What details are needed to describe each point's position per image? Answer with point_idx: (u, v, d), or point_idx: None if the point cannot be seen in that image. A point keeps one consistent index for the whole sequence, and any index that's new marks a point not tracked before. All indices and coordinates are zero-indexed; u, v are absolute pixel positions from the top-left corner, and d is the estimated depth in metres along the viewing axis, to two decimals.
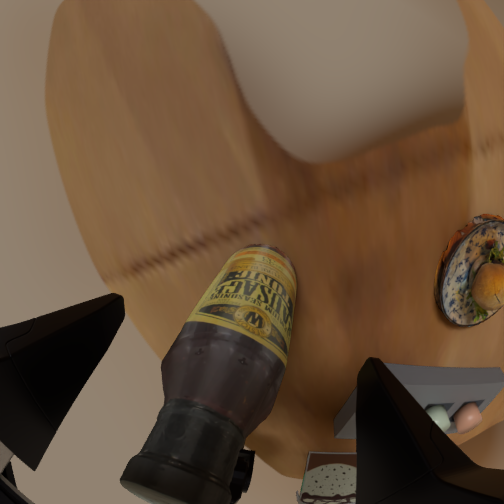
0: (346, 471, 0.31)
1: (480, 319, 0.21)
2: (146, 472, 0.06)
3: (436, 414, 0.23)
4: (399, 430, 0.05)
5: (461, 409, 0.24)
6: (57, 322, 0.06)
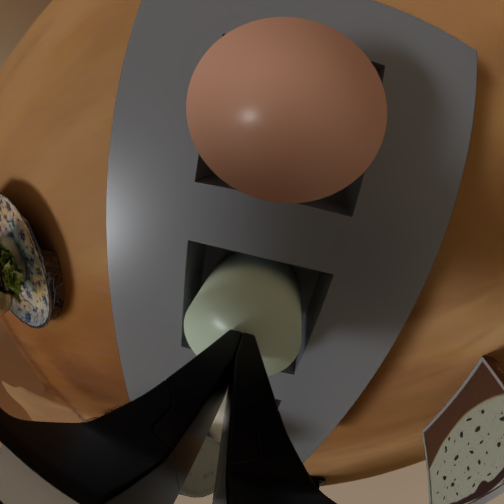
0: (480, 421, 0.10)
1: (35, 244, 0.13)
2: None
3: None
4: None
5: None
6: (199, 381, 0.06)
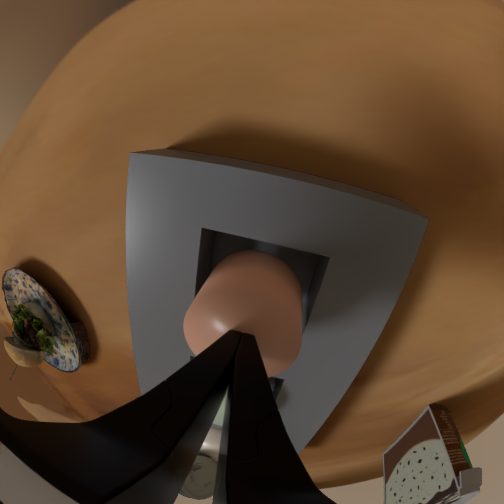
0: (421, 455, 0.14)
1: None
2: None
3: None
4: None
5: None
6: (199, 381, 0.06)
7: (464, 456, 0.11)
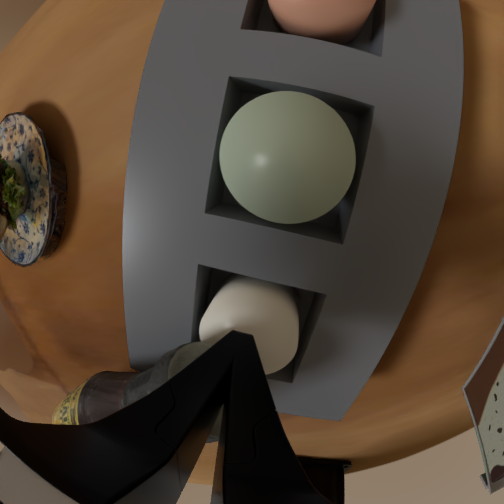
0: None
1: (45, 155, 0.12)
2: None
3: None
4: None
5: None
6: (201, 382, 0.06)
7: None
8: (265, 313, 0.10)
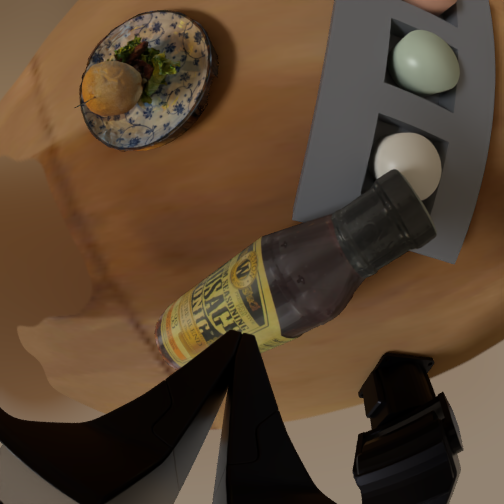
0: None
1: (203, 41, 0.14)
2: (410, 210, 0.10)
3: (396, 66, 0.12)
4: None
5: None
6: (199, 381, 0.06)
7: None
8: (424, 145, 0.12)
